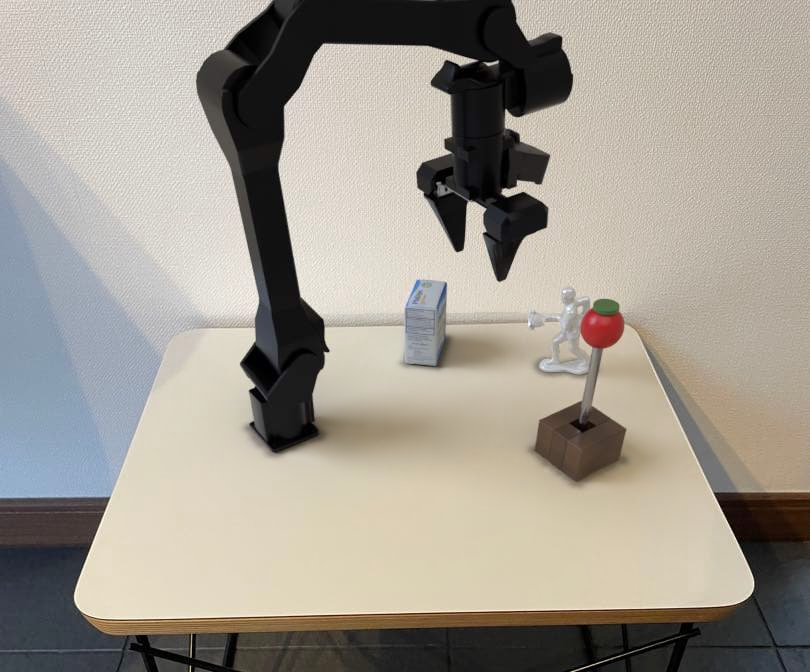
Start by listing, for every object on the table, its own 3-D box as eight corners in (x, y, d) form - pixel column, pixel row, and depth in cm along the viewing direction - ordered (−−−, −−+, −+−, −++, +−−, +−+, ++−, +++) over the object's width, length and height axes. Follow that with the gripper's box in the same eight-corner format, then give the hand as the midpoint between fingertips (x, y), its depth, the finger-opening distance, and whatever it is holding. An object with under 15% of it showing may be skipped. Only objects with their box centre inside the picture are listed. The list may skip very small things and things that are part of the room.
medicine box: (436, 367, 104) (438, 309, 97) (404, 364, 104) (403, 305, 98) (445, 338, 109) (448, 280, 103) (415, 334, 110) (415, 277, 104)
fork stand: (575, 482, 87) (582, 451, 84) (534, 450, 91) (539, 419, 88) (619, 459, 90) (627, 428, 86) (577, 430, 94) (583, 399, 90)
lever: (576, 471, 88) (606, 320, 74) (550, 452, 91) (575, 302, 77) (603, 458, 90) (638, 307, 76) (577, 439, 92) (606, 290, 79)
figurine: (596, 376, 102) (613, 292, 94) (528, 380, 101) (539, 296, 93) (586, 357, 105) (602, 274, 97) (520, 361, 105) (530, 278, 96)
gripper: (594, 133, 78) (581, 274, 90) (491, 88, 90) (491, 218, 101) (504, 163, 75) (503, 306, 86) (409, 112, 86) (419, 244, 98)
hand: (479, 265), depth 93 cm, fingers open, 9 cm apart
